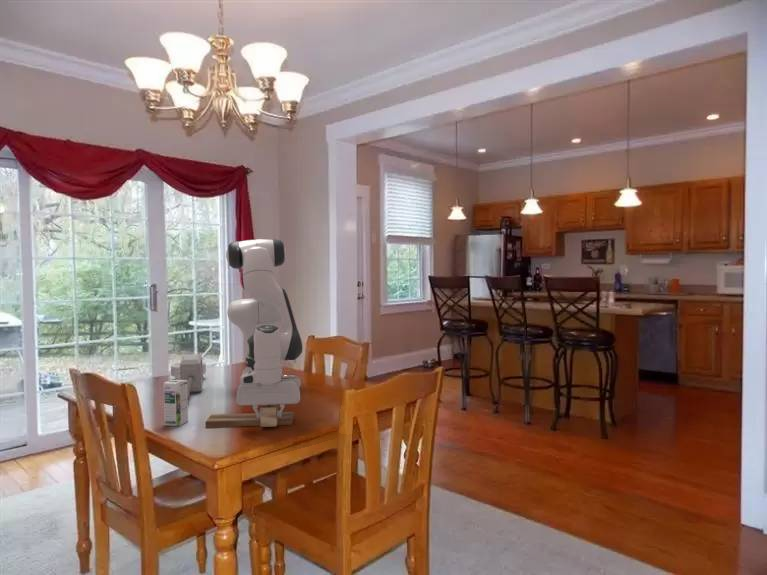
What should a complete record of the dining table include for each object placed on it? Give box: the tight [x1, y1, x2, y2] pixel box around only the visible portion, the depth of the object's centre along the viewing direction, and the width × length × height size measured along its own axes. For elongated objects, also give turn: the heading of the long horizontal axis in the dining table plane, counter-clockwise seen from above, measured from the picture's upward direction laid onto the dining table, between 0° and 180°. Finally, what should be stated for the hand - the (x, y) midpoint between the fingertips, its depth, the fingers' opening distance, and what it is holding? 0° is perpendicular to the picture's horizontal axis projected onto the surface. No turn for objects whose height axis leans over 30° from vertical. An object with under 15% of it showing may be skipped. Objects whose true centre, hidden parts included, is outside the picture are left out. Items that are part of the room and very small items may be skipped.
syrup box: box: [162, 379, 189, 427], centre depth 176 cm, size 6×6×14 cm
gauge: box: [259, 404, 278, 428], centre depth 174 cm, size 12×5×7 cm, turn 6°
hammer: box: [179, 353, 204, 401], centre depth 208 cm, size 15×8×30 cm
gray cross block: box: [170, 361, 207, 380], centre depth 241 cm, size 15×15×8 cm
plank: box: [205, 411, 295, 429], centre depth 176 cm, size 8×28×2 cm, turn 95°
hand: (269, 417), depth 170 cm, fingers closed on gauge, 5 cm apart
